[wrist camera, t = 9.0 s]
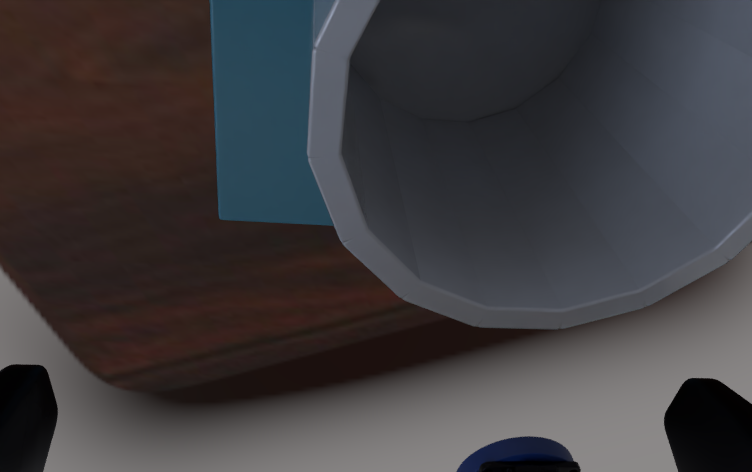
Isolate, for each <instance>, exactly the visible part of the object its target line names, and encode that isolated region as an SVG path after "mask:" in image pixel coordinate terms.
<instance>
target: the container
mask: <svg viewBox="0 0 752 472" xmlns="http://www.w3.org/2000/svg"><path fill="white" fill-rule="evenodd" d="M311 5H312V0H210V23H211V46H212V70H213V93H214V117H215V141H216V164H217V188H218V211H219V218H220V219H221V220H233V221H253V222H273V223H292V224H312V225H332V226H334V225H333V222H332V220H331V217H330V215H329V212H328V210H327V207H326V205H325V202H324V200H323V197H322V195H321V192H320V190H319V187H318V185H317V182H316V180H315V177H314V175H313V173H312V170H311V168H310V165H309V163H308V156H307V128H308V97H309V65H310V34H311Z"/></svg>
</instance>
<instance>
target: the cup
mask: <svg viewBox="0 0 752 472" xmlns="http://www.w3.org/2000/svg"><path fill="white" fill-rule="evenodd" d="M307 156H308V163H309V165H310V168H311V170H312V173H313V175H314V177H315V180H316V182H317V185H318V187H319V190H320V192H321V195H322V197H323V200H324V202H325V205H326V207H327V210H328V212H329V215H330V217H331V220H332V222H333V225H334V227H335V230H336V232H337V235H338V237H339V240H340V241H341V242H342V243H343V245H344V246H345V247H346V248H347V249H348V250H349V251H350V252H351V253H352V254H354V255H355V256H356V257H357V258H358V259H359V260H360V261H361V262H362V263H363V264H364V265H365V266H366V267H367V268H369V269H370V270H371V271H372V272H373V273H374V274H375V275H376V276H377V277H378V278H379V279H380V280H381V281H383V282H384V283H385V284H386V285H387V286H388V287H389V288H390V289H391V290H392V291H393V292H394V293H395V294H396V295H398V296H399V297H400V298H402V299H403V300H405V301H407V302H410V303H413V304H415V305H418V306H421V307H423V308H426V309H429V310H431V311H434V312H437V313H439V314H442V315H445V316H448V317H450V318H453V319H456V320H458V321H461V322H464V323H466V324H469V325H472V326H478V327H481V328H482V327H483V328H518V329H519V328H520V329H556V330H557V329H559V328H561V329H564V328H568V327H572V326H576V325H580V324H584V323H588V322H592V321H596V320H599V319H603V318H607V317H611V316H615V315H619V314H623V313H626V312H630V311H634V310H638V309H642V308H644V307H645V306H650V305H652V304H653V303H655V302H657V301H659V300H661V299H662V298H664V297H666V296H668V295H669V294H671V293H673V292H675V291H677V290H679V289H681V288H682V287H684V286H686V285H688V284H690V283H691V282H693V281H695V280H697V279H699V278H701V277H702V276H704V275H706V274H708V273H709V272H712V271H713V270H715V269H717V268H719V267H721V266H722V265H724V264H726V263H727V262H728V261H729V260H731V259H733V258H734V257H735V256H736V255H737V254H738V253H740V252H741V251H742V250H743V249H744V248H745V247H746V246H747V245H748V244H749V243H750V242H751V241H752V0H312V5H311V34H310V65H309V97H308V128H307Z"/></svg>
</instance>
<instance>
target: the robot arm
mask: <svg viewBox="0 0 752 472" xmlns="http://www.w3.org/2000/svg"><path fill="white" fill-rule="evenodd" d="M57 415H58V408H57V403H56V399H55V396H54V392H53V389H52V385H51V382H50V379H49V375H48V372H47V370H46V369H45V368H44V367H43V366H41V365H19V364H16V365H10V366H7V367H5V368H4V369H2V370H1V371H0V472H43V470H44V466H45V463H46V459H47V456H48V452H49V448H50V444H51V441H52V438H53V434H54V430H55V427H56V422H57ZM664 426H665V431H666V434H667V437H668V440H669V444H670V447H671V450H672V453H673V456H674V459H675V462H676V466H677V469H678V472H752V404H751V403H749V402H748V401H747V400H745V399H744V398H743V397H741V396H740V395H738V394H737V393H736V392H734V391H733V390H731V389H730V388H729V387H727V386H726V385H725V384H723V383H721V382H720V381H718V380H715V379H710V378H691V379H688V380H686V381H685V382H684V383H683V384H682V386H681V387H680V389H679V391H678V393H677V394H676V396H675V397H674V399H673V401H672V403H671V404H670V406H669V407H668V409H667V411H666V413H665V417H664ZM478 472H581V469H580V466H579V464H578V462H575V461H489V462H485V463H483V464H481V465H480V468H479V470H478Z"/></svg>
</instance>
